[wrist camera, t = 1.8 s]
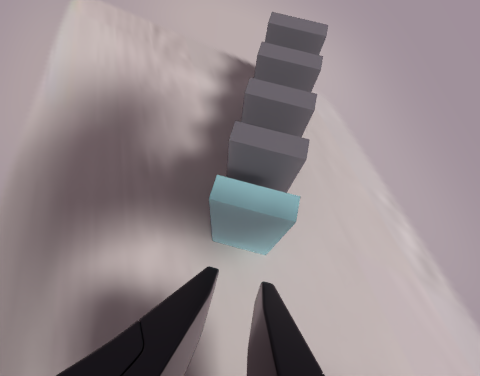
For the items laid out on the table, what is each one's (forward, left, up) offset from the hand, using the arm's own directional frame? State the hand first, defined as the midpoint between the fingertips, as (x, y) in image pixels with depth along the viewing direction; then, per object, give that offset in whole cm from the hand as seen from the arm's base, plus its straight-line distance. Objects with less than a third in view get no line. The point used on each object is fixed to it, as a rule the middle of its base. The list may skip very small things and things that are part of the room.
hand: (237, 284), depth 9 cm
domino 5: (+2, +5, -14) cm, 15 cm away
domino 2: (+8, +16, -14) cm, 22 cm away
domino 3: (+6, +12, -14) cm, 19 cm away
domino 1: (+9, +20, -14) cm, 26 cm away
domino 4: (+4, +8, -14) cm, 16 cm away
